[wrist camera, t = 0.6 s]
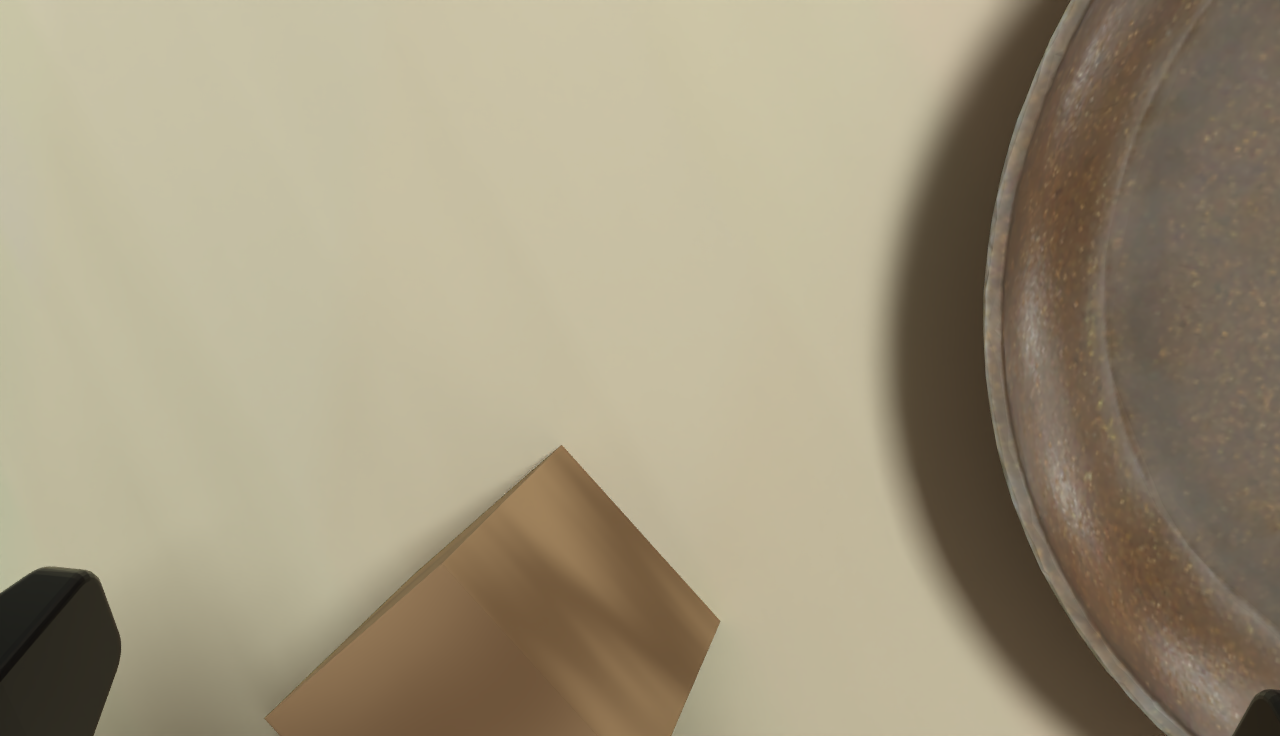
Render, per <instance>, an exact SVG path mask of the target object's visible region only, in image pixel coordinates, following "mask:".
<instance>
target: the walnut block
mask: <svg viewBox="0 0 1280 736" xmlns="http://www.w3.org/2000/svg"><path fill="white" fill-rule="evenodd" d="M719 623H720V620H719V619H718V618H717V617H716V616H715V615H714V614H713V612H712V611H711V610H710V609H709V608H708V607H707V606H706V605H705V604H704V602H703V601H702V600H701V599H700V598H699V597H698V596H697V595H696V594H695V592H694V591H693V590H692V589H691V588H690V587H689V586H688V585H687V584H686V582H685V581H684V580H683V579H682V578H681V577H680V576H679V575H678V574H677V572H676V571H675V570H674V569H673V568H672V567H671V566H670V565H669V564H668V562H667V561H666V560H665V559H664V558H663V557H662V556H661V555H660V554H659V552H658V551H657V550H656V549H655V548H654V547H653V546H652V545H651V544H650V542H649V541H648V540H647V539H646V538H645V537H644V536H643V535H642V534H641V532H640V531H639V530H638V529H637V528H636V527H635V526H634V525H633V524H632V522H631V521H630V520H629V519H628V518H627V517H626V516H625V515H624V514H623V512H622V511H621V510H620V509H619V508H618V507H617V506H616V505H615V504H614V502H613V501H612V500H611V499H610V498H609V497H608V496H607V495H606V494H605V492H604V491H603V490H602V489H601V488H600V487H599V486H598V485H597V484H596V482H595V481H594V480H593V479H592V478H591V477H590V476H589V475H588V474H587V472H586V471H585V470H584V469H583V468H582V467H581V466H580V465H579V464H578V463H577V461H576V460H575V459H574V458H573V457H572V456H571V455H570V454H569V453H568V451H567V450H566V449H565V448H564V447H563V446H562V445H561V446H560V447H559V448H557V449H556V450H555V451H554V452H553V453H552V454H551V455H550V456H548V457H547V458H546V459H545V460H544V461H543V462H542V463H540V464H539V465H538V466H537V467H536V468H535V469H534V470H532V471H531V472H530V473H529V474H528V475H527V476H526V477H524V478H523V479H522V480H521V481H520V482H519V483H518V484H516V485H515V486H514V487H513V488H512V489H511V490H510V491H509V492H507V493H506V494H505V495H504V496H503V497H502V498H501V499H499V500H498V501H497V502H496V503H495V504H494V505H493V506H491V507H490V508H489V509H488V510H487V511H486V512H485V513H483V514H482V515H481V516H480V517H479V518H478V519H477V520H476V521H474V522H473V523H472V524H471V525H470V526H469V527H468V528H466V529H465V530H464V531H463V532H462V533H461V534H460V535H458V536H457V537H456V538H455V539H454V540H453V541H452V542H450V543H449V544H448V545H447V546H446V547H445V548H444V549H443V550H441V551H440V552H439V553H438V554H437V555H436V556H435V557H433V558H432V559H431V560H430V561H429V562H428V563H427V564H425V565H424V566H423V567H422V568H421V569H420V570H419V571H417V572H416V573H415V574H414V575H413V576H412V577H411V578H410V579H409V580H408V581H407V582H406V583H405V584H404V585H403V586H401V587H400V588H399V589H398V590H397V591H396V592H395V593H394V594H393V595H392V596H391V597H390V598H389V599H388V600H387V601H386V602H385V603H384V604H383V605H382V606H381V607H380V608H379V609H378V610H376V611H375V612H374V613H373V614H372V615H371V616H370V617H369V618H368V619H367V620H366V621H365V622H364V623H363V624H362V625H361V626H360V627H359V628H358V629H357V630H356V631H355V632H354V633H353V634H352V635H350V636H349V637H348V638H347V639H346V640H345V641H344V642H343V643H342V644H341V645H340V646H339V647H338V648H337V649H336V650H335V651H334V652H333V653H332V654H331V655H330V656H329V657H328V658H327V659H325V660H324V661H323V662H322V663H321V664H320V665H319V666H318V667H317V668H316V669H315V670H314V671H313V672H312V673H311V674H310V675H309V676H308V677H307V678H306V679H305V680H304V681H303V682H302V683H300V684H299V685H298V686H297V687H296V688H295V689H294V690H293V691H292V692H291V693H290V694H289V695H288V696H287V697H286V698H285V699H284V700H283V701H282V702H281V703H280V704H279V705H278V706H277V707H276V708H274V709H273V710H272V711H271V712H270V713H269V714H268V715H267V716H266V717H265V718H264V719H265V720H266V721H267V722H268V723H269V724H270V725H271V726H272V727H273V728H274V730H275V731H276V732H277V733H278V734H279V735H280V736H671V735H672V733H673V730H674V728H675V726H676V723H677V721H678V719H679V716H680V714H681V712H682V709H683V707H684V705H685V702H686V700H687V698H688V695H689V693H690V691H691V688H692V686H693V684H694V681H695V679H696V677H697V674H698V672H699V670H700V667H701V665H702V663H703V660H704V658H705V656H706V653H707V651H708V649H709V646H710V644H711V642H712V639H713V637H714V635H715V633H716V630H717V628H718V626H719Z"/></svg>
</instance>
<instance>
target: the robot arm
mask: <svg viewBox="0 0 1280 736" xmlns="http://www.w3.org/2000/svg"><path fill="white" fill-rule="evenodd" d="M120 655H121V639H120V635H119V631H118V629H117V626H116V623H115V620H114V618H113V615H112V612H111V609H110V607H109V604H108V601H107V598H106V596H105V593H104V590H103V587H102V584H101V582H100V580H99V578H98V577H97V576H96V575H95V574H93V573H92V572H91V571H87V570H81V569H71V568H61V567H43V568H39V569H37V570H35V571H33V572H31V573H29V574H28V575H26V576H25V577H23V578H22V579H20V580H19V581H17V582H16V583H14V584H13V585H12V586H10V587H9V588H7V589H6V590H4V591H3V592H1V593H0V736H93V735H94V733H95V730H96V727H97V724H98V721H99V719H100V716H101V713H102V710H103V708H104V705H105V702H106V699H107V696H108V694H109V691H110V688H111V685H112V682H113V680H114V677H115V674H116V671H117V668H118V665H119V660H120ZM1232 736H1280V690H1276V689H1265V690H1263V691H1261V692H1259V693H1258V694H1256V695H1255V696H1254V698H1253V699H1252V701H1251V702H1250V704H1249V706H1248V708H1247V710H1246V711H1245V713H1244V715H1243V717H1242V718H1241V720H1240V722H1239V724H1238V726H1237V727H1236V729H1235V731H1234V733H1233V734H1232Z"/></svg>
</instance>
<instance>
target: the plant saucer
mask: <svg viewBox="0 0 1280 736" xmlns="http://www.w3.org/2000/svg"><path fill="white" fill-rule="evenodd" d="M983 340H984V357H985V373H986V383H987V390H988V398H989V406H990V414H991V419H992V425H993V430H994V435H995V440H996V446H997V450H998V454H999V458H1000V462H1001V465H1002V469H1003V473H1004V476H1005V479H1006V483H1007V486H1008V489H1009V493H1010V496H1011V499H1012V502H1013V504H1014V507H1015V509H1016V512H1017V515H1018V517H1019V520H1020V522H1021V525H1022V527H1023V530H1024V532H1025V535H1026V537H1027V540H1028V542H1029V544H1030V546H1031V549H1032V551H1033V553H1034V556H1035V558H1036V560H1037V562H1038V565H1039V567H1040V569H1041V571H1042V573H1043V575H1044V576H1045V578H1046V580H1047V582H1048V583H1049V585H1050V587H1051V589H1052V590H1053V592H1054V594H1055V596H1056V597H1057V599H1058V601H1059V603H1060V604H1061V606H1062V607H1063V609H1064V611H1065V612H1066V614H1067V616H1068V617H1069V619H1070V620H1071V622H1072V624H1073V625H1074V627H1075V629H1076V630H1077V632H1078V633H1079V634H1080V636H1081V637H1082V639H1083V640H1084V642H1085V643H1086V644H1087V646H1088V647H1089V649H1090V650H1091V652H1092V653H1093V654H1094V656H1095V657H1096V659H1097V660H1098V661H1099V663H1100V664H1101V665H1102V666H1103V668H1104V669H1105V670H1106V671H1107V672H1108V673H1109V675H1110V676H1111V677H1112V678H1113V679H1114V680H1115V681H1116V682H1117V683H1118V684H1119V685H1120V687H1121V688H1122V689H1123V690H1124V692H1125V693H1126V694H1127V695H1128V696H1129V698H1130V699H1131V700H1132V701H1133V702H1134V703H1135V704H1136V705H1137V706H1138V707H1139V708H1140V709H1141V710H1142V711H1143V712H1144V713H1145V714H1146V715H1147V716H1148V718H1149V719H1150V720H1151V721H1152V722H1153V723H1154V724H1155V725H1156V726H1157V727H1158V728H1159V729H1160V730H1161V731H1163V732H1164V733H1165V734H1166V735H1167V736H1232V734H1233V733H1234V731H1235V729H1236V727H1237V726H1238V724H1239V722H1240V720H1241V718H1242V717H1243V715H1244V713H1245V711H1246V710H1247V708H1248V706H1249V704H1250V702H1251V701H1252V699H1253V698H1254V696H1255V695H1256V694H1258V693H1259V692H1261V691H1263V690H1265V689H1276V690H1280V0H1071V1H1070V3H1069V4H1068V6H1067V8H1066V10H1065V12H1064V14H1063V16H1062V17H1061V19H1060V21H1059V23H1058V25H1057V27H1056V29H1055V31H1054V33H1053V35H1052V37H1051V39H1050V41H1049V43H1048V46H1047V48H1046V50H1045V53H1044V55H1043V57H1042V60H1041V62H1040V64H1039V67H1038V69H1037V71H1036V73H1035V76H1034V78H1033V81H1032V83H1031V86H1030V89H1029V91H1028V94H1027V96H1026V99H1025V101H1024V104H1023V106H1022V109H1021V111H1020V114H1019V116H1018V119H1017V122H1016V125H1015V129H1014V132H1013V135H1012V138H1011V141H1010V145H1009V148H1008V152H1007V156H1006V159H1005V163H1004V167H1003V171H1002V174H1001V179H1000V184H999V188H998V193H997V197H996V202H995V207H994V211H993V216H992V223H991V229H990V236H989V243H988V252H987V262H986V272H985V281H984V291H983Z"/></svg>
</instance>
